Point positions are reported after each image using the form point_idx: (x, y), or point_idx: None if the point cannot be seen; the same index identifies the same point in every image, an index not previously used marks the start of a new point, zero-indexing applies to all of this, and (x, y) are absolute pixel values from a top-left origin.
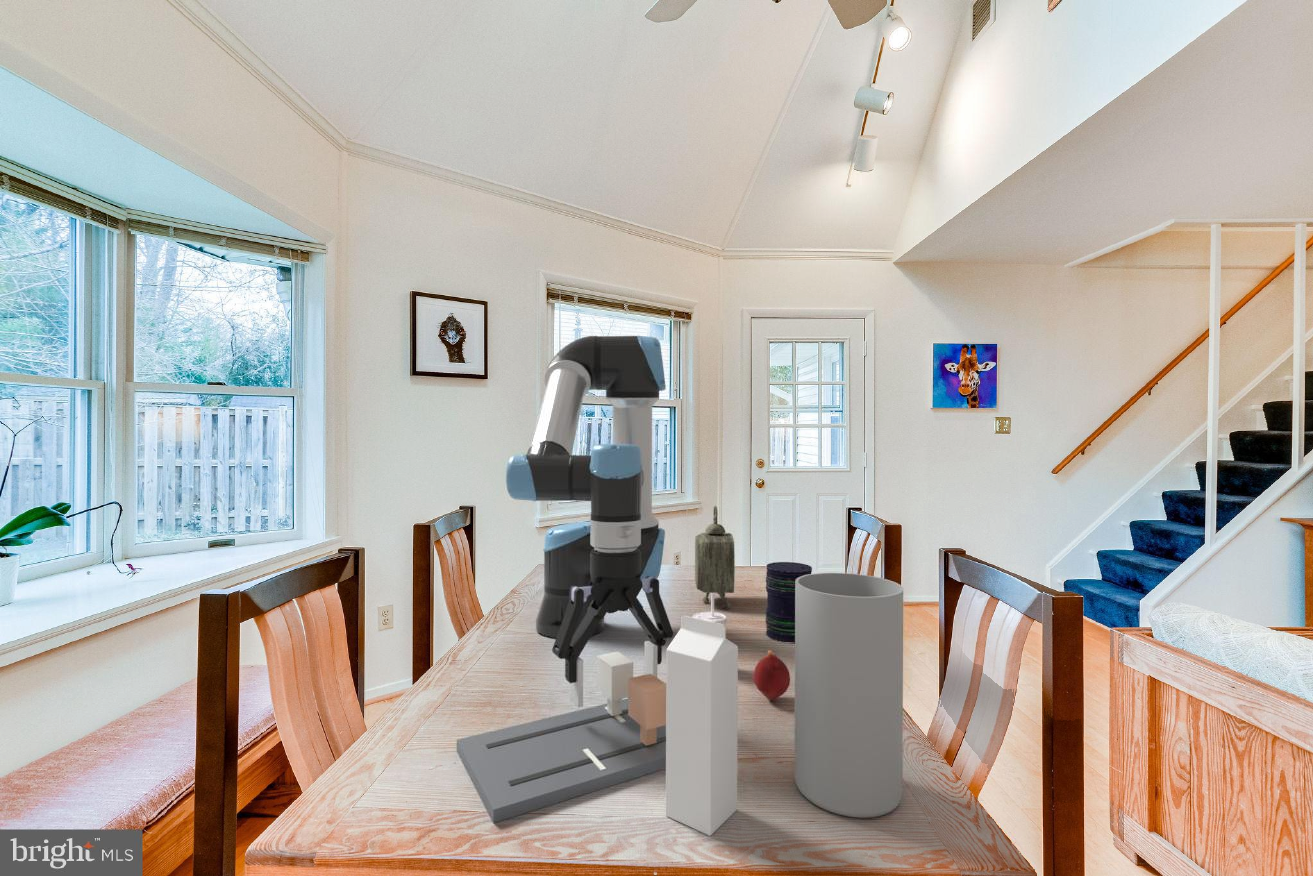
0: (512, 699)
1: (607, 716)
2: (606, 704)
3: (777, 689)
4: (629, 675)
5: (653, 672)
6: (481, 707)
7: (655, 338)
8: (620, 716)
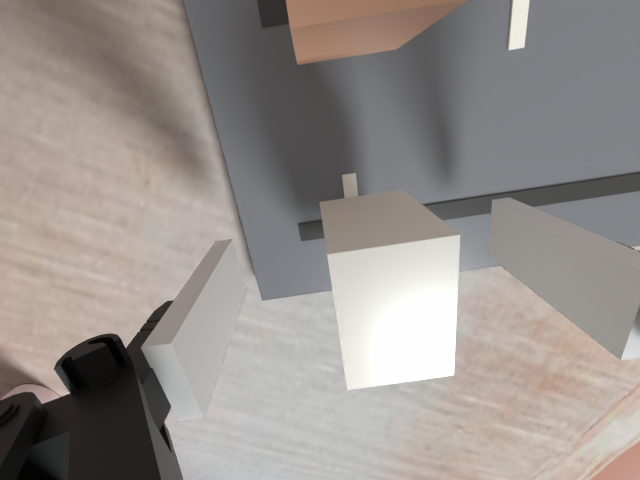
0: (499, 386)
1: None
2: None
3: None
4: (342, 226)
5: (214, 266)
6: (564, 373)
7: None
8: None
